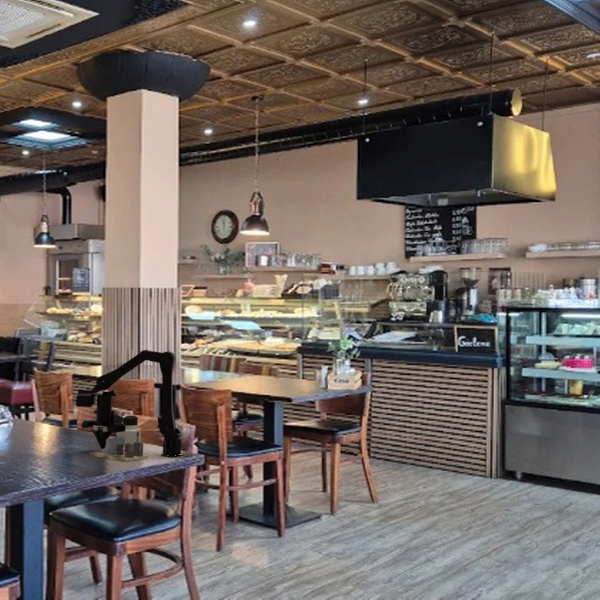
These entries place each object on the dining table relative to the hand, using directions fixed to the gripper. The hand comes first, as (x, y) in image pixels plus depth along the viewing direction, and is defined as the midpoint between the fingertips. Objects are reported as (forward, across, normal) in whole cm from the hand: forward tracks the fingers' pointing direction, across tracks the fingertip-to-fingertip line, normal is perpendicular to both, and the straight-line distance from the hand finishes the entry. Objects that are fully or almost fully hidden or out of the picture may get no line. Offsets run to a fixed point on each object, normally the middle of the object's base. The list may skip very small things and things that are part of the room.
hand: (102, 448), depth 304 cm
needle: (0, -15, +5) cm, 15 cm away
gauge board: (+2, -9, 0) cm, 9 cm away
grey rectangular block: (+1, -10, +1) cm, 10 cm away
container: (+2, +3, -16) cm, 16 cm away
